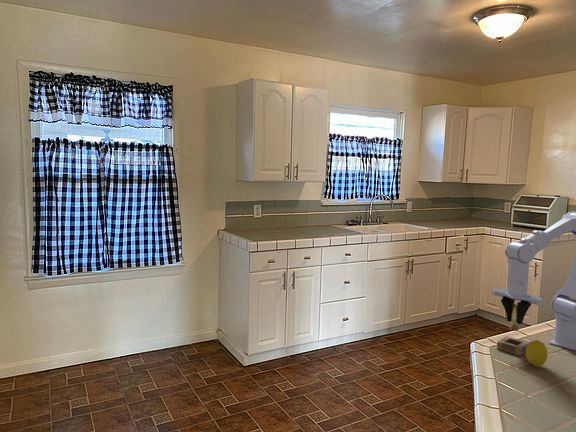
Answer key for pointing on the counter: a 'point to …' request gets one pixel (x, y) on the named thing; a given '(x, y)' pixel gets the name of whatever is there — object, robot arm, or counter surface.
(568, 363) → the counter surface
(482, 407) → the counter surface
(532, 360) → the lemon
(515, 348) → the socket block
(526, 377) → the counter surface
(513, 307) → the brass pin
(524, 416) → the counter surface
